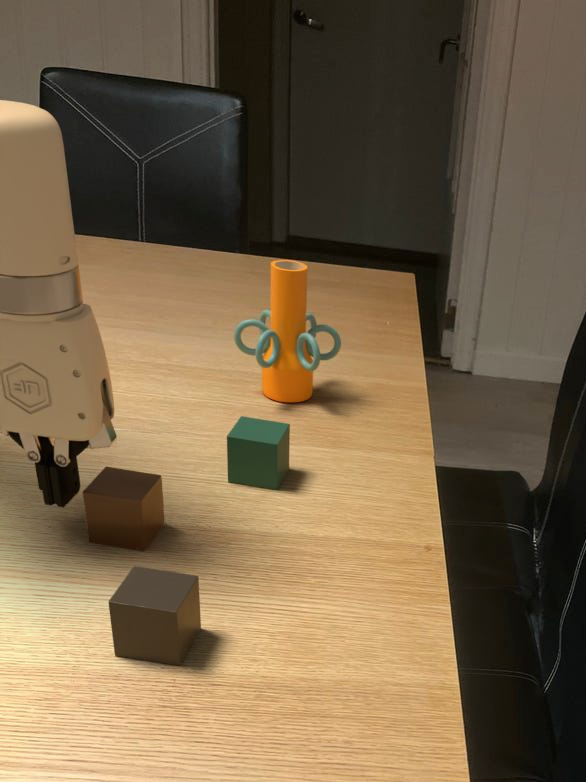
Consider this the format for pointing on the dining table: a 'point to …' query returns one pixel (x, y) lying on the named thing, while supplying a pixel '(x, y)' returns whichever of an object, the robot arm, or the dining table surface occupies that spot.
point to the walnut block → (124, 508)
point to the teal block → (258, 452)
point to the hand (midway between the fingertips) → (61, 498)
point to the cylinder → (287, 336)
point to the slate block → (155, 615)
